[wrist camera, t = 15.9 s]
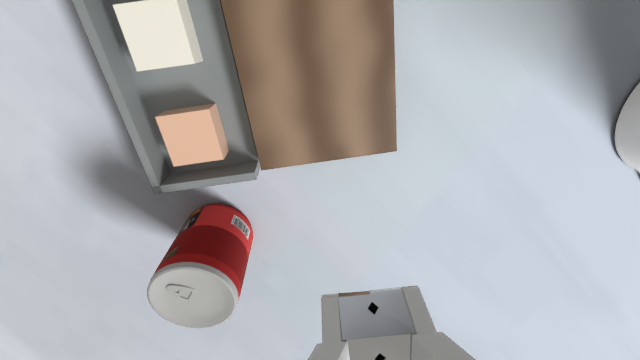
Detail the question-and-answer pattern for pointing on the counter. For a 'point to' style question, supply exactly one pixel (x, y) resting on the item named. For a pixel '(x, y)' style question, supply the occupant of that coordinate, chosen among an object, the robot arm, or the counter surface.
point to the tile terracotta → (193, 134)
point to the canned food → (203, 268)
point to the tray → (175, 95)
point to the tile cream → (159, 33)
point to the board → (315, 77)
